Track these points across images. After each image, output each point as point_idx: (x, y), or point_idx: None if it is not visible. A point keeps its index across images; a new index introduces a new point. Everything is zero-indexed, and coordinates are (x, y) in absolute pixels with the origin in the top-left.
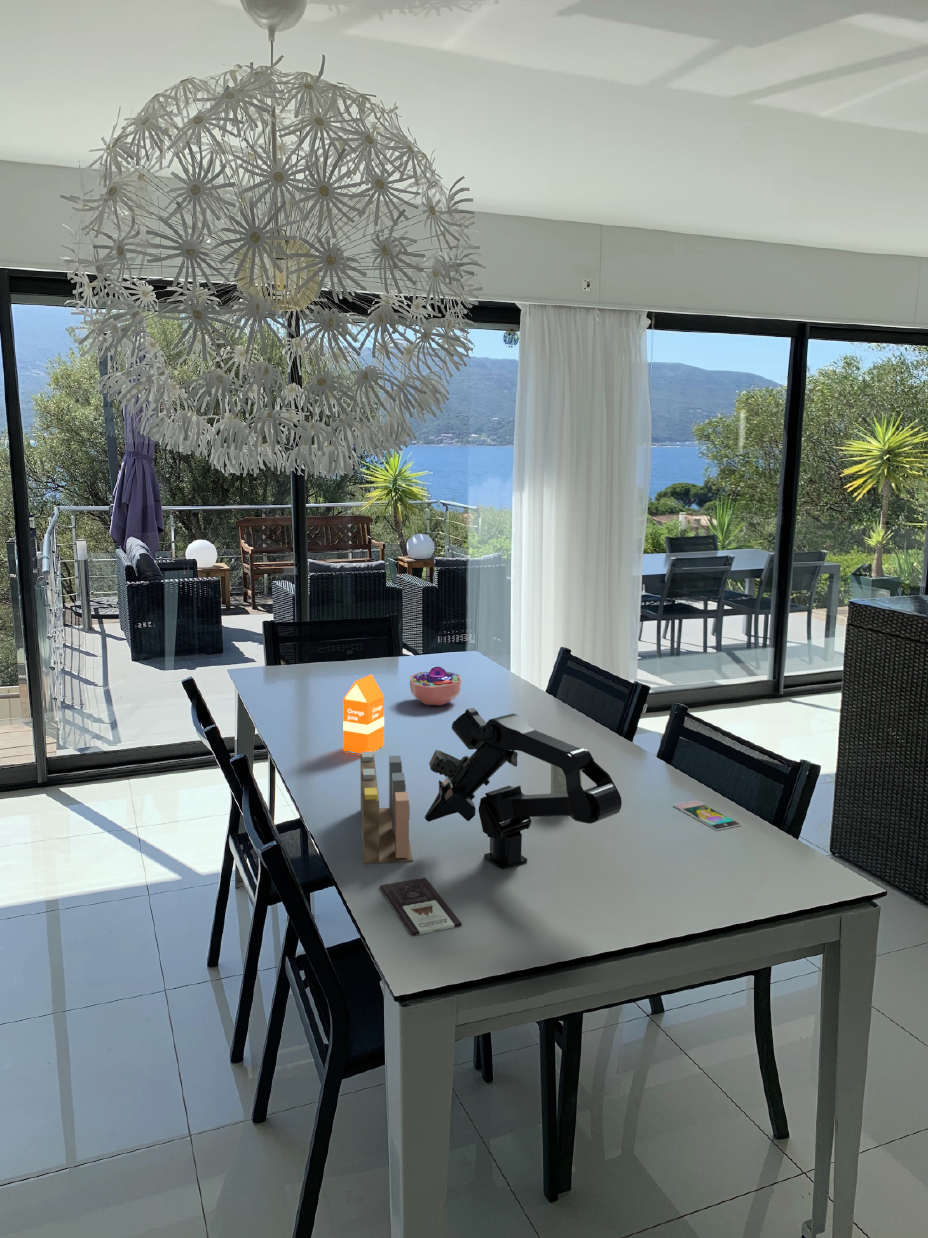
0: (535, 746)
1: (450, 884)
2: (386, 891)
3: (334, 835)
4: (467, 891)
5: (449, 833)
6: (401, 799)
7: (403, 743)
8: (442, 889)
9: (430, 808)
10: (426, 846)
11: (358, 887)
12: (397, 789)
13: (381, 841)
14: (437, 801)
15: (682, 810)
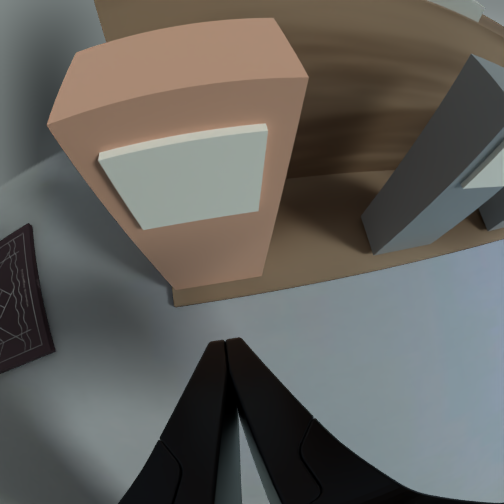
0: None
1: (39, 422)
2: (3, 243)
3: None
4: (18, 455)
5: (419, 407)
6: (92, 68)
7: None
8: (16, 394)
9: (249, 387)
10: (310, 347)
11: (46, 178)
12: (461, 110)
13: (316, 187)
14: (188, 490)
15: None
